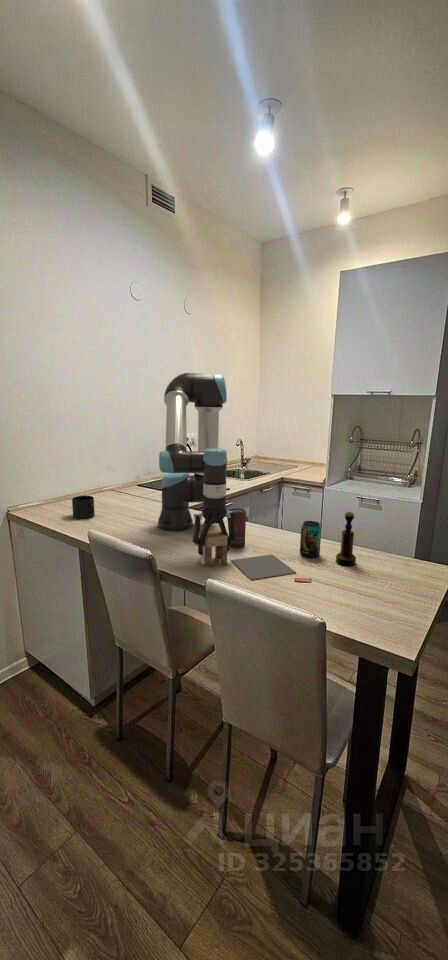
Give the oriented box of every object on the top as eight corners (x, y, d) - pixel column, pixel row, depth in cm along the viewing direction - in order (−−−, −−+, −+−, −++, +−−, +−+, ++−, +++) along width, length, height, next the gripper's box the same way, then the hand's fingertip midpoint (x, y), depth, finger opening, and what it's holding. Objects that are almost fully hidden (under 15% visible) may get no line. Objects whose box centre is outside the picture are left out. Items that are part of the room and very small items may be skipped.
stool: (200, 559, 136) (200, 531, 134) (219, 557, 138) (219, 529, 137) (207, 567, 130) (207, 538, 128) (226, 564, 132) (227, 536, 130)
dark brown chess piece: (341, 557, 141) (345, 508, 137) (359, 562, 136) (363, 512, 133) (332, 562, 136) (336, 512, 133) (349, 568, 131) (354, 516, 128)
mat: (230, 561, 135) (230, 559, 135) (272, 555, 141) (272, 554, 141) (250, 580, 121) (251, 579, 121) (296, 573, 127) (296, 572, 126)
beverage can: (295, 554, 142) (297, 523, 140) (306, 550, 147) (308, 519, 145) (313, 560, 137) (315, 527, 135) (323, 555, 142) (325, 523, 140)
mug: (85, 522, 175) (84, 502, 173) (68, 517, 182) (67, 498, 180) (102, 517, 183) (101, 498, 181) (86, 513, 189) (85, 494, 188)
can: (244, 549, 147) (245, 512, 144) (227, 547, 148) (228, 511, 145) (246, 543, 152) (247, 508, 150) (230, 542, 154) (231, 507, 151)
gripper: (188, 500, 122) (188, 570, 127) (247, 496, 130) (245, 562, 134) (182, 495, 129) (182, 561, 134) (237, 491, 137) (236, 554, 141)
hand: (213, 561), depth 134 cm, fingers open, 7 cm apart
